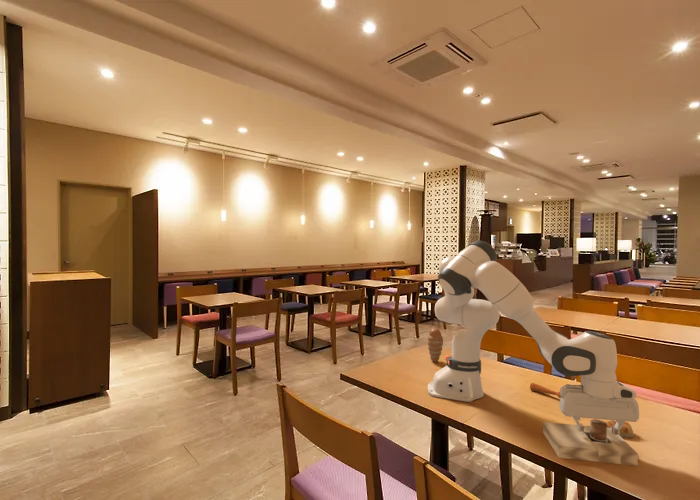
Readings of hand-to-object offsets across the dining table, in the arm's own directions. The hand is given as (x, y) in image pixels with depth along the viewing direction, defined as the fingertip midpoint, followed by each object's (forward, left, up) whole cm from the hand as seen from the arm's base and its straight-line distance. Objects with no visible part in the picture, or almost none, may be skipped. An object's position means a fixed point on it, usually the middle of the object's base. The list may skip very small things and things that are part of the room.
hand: (597, 432), depth 108 cm
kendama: (0, +35, -6) cm, 36 cm away
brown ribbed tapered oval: (-45, +72, -5) cm, 85 cm away
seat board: (-3, 0, -5) cm, 6 cm away
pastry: (+11, +12, -6) cm, 17 cm away
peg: (0, 0, -5) cm, 5 cm away
